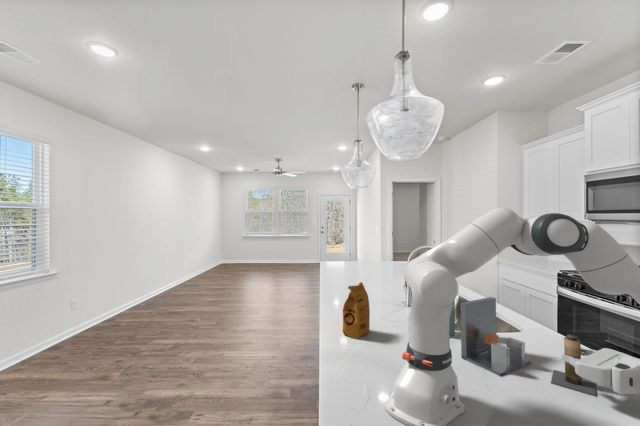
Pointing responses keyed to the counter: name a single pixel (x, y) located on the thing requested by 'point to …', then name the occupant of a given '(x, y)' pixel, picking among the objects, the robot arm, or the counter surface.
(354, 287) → the coffee package
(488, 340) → the breaker toggle
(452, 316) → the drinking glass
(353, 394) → the counter surface
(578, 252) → the robot arm
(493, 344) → the grey l-shaped stand
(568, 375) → the brown bottle
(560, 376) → the bar
